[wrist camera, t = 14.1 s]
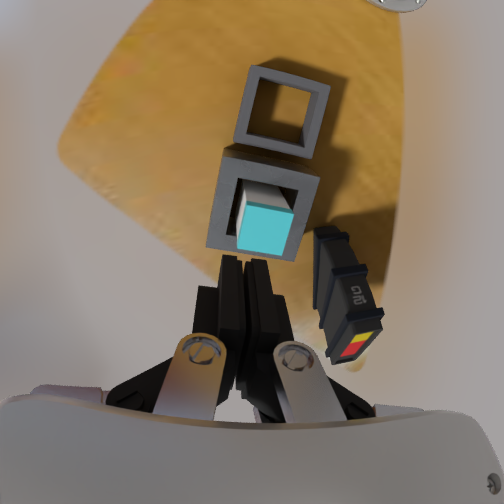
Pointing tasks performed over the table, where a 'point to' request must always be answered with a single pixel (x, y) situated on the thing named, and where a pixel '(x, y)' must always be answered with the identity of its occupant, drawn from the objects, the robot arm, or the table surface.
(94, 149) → the table surface
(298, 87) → the grey square frame
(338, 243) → the magazine
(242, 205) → the plug
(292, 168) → the port block
